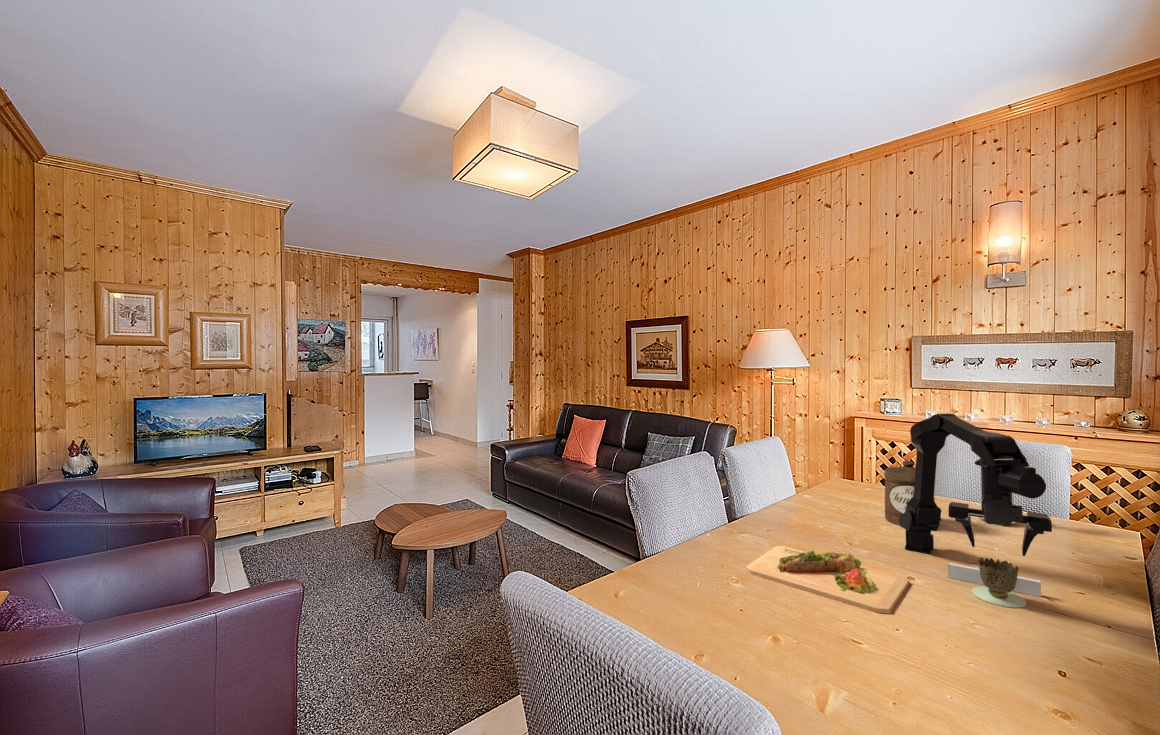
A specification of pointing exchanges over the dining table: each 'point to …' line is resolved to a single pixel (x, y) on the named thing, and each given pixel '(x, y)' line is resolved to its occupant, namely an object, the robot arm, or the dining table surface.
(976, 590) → the pad
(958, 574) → the acrylic wall
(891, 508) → the wooden container
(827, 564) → the cutting board
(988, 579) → the cup
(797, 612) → the dining table surface
